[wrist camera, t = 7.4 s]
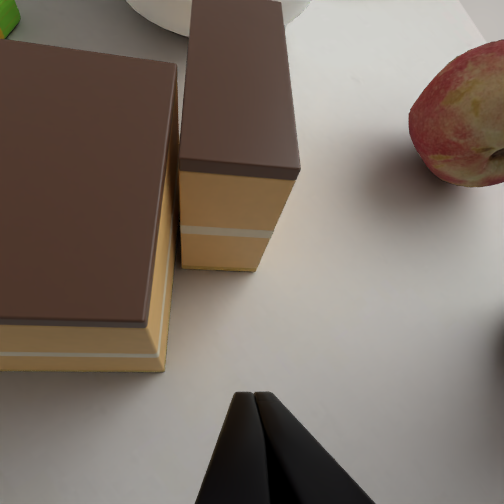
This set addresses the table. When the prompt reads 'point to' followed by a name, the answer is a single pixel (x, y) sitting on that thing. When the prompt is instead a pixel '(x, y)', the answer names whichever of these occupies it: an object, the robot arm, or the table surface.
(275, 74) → the cake slice
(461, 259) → the table surface
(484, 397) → the table surface
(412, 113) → the fruit
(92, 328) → the cake
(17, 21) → the popsicle
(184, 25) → the bowl
